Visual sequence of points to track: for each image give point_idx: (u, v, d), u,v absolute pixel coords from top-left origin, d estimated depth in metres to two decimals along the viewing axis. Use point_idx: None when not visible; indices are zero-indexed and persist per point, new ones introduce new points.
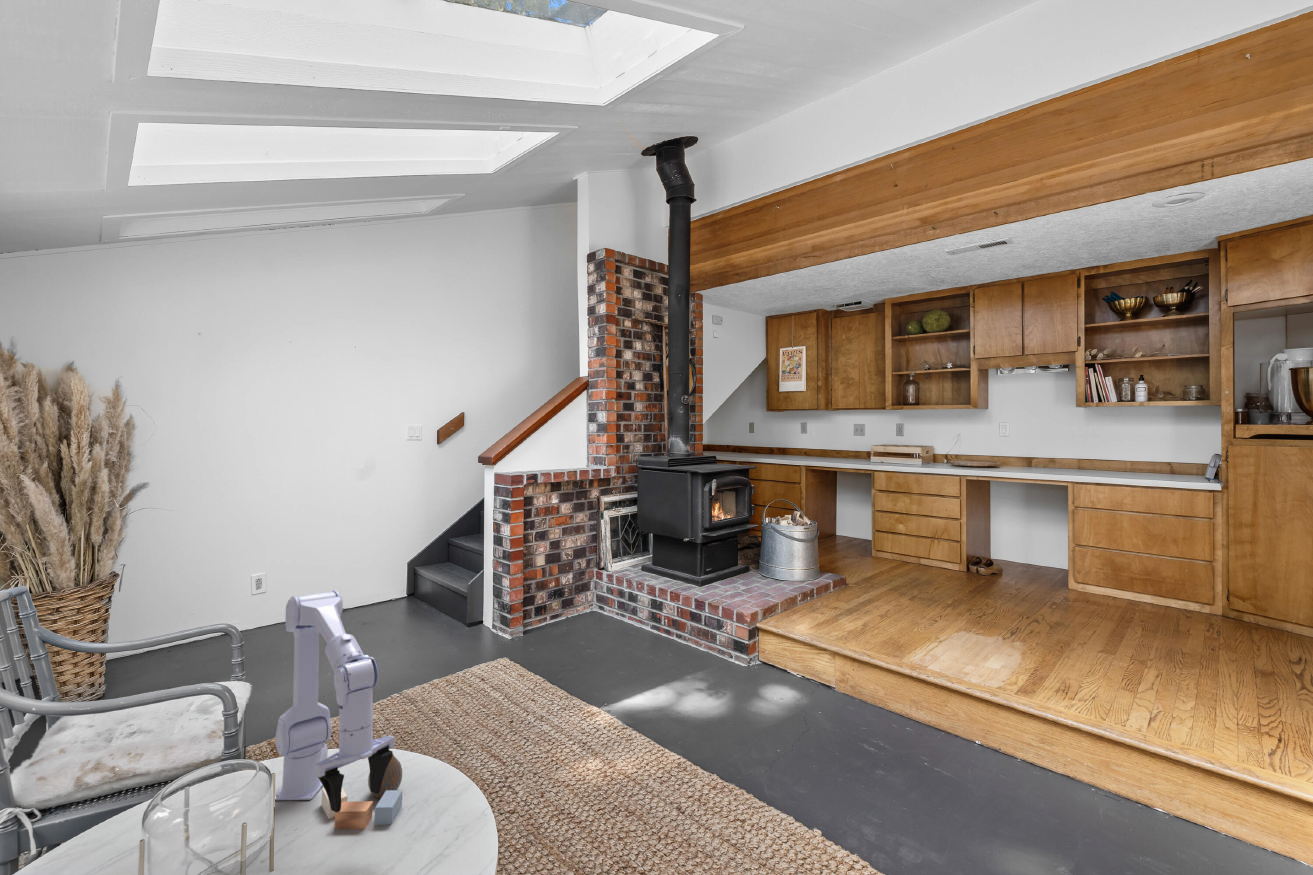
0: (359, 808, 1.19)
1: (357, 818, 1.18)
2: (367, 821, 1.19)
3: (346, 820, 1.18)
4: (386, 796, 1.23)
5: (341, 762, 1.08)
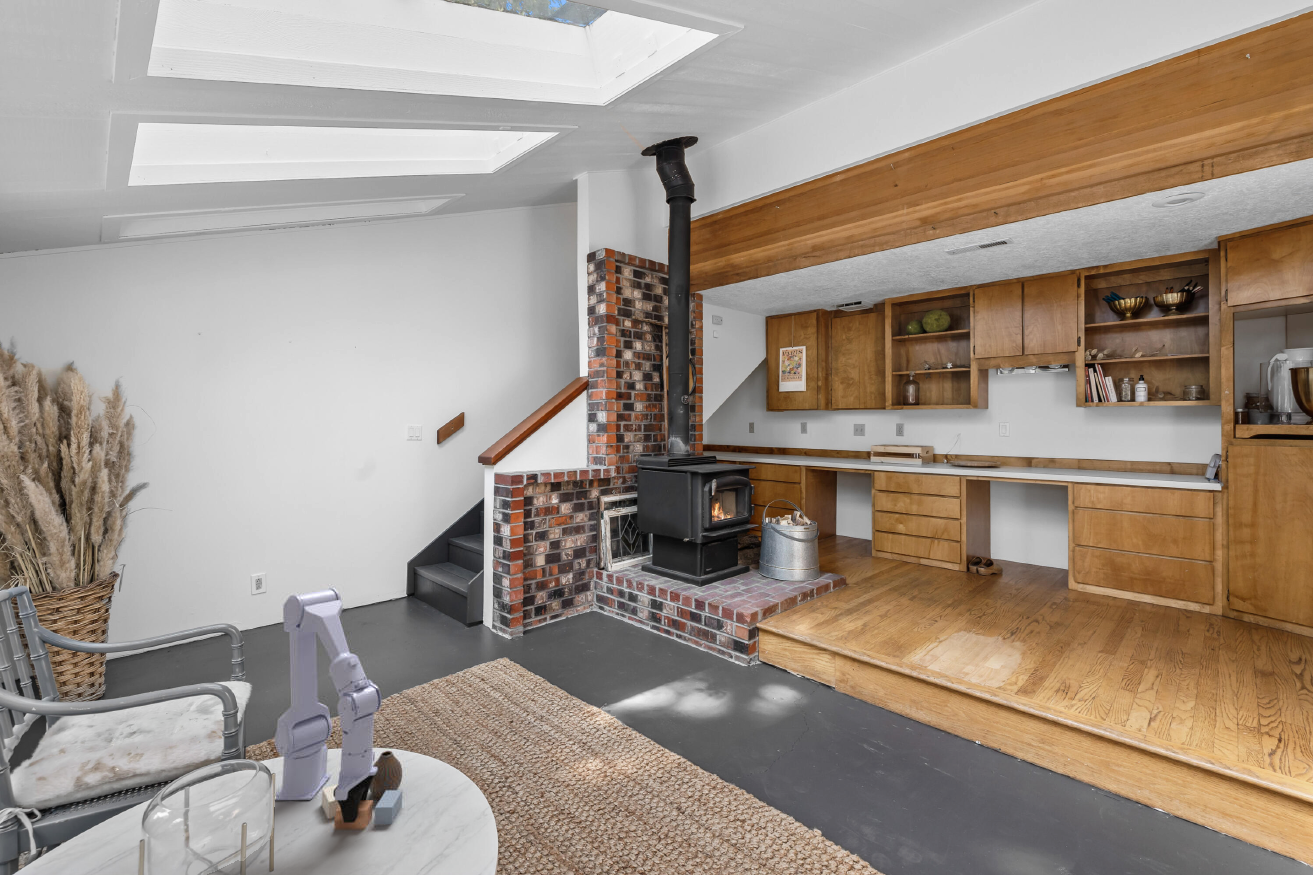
0: (359, 807, 1.19)
1: (357, 817, 1.18)
2: (367, 820, 1.19)
3: None
4: (386, 796, 1.23)
5: (357, 782, 1.16)
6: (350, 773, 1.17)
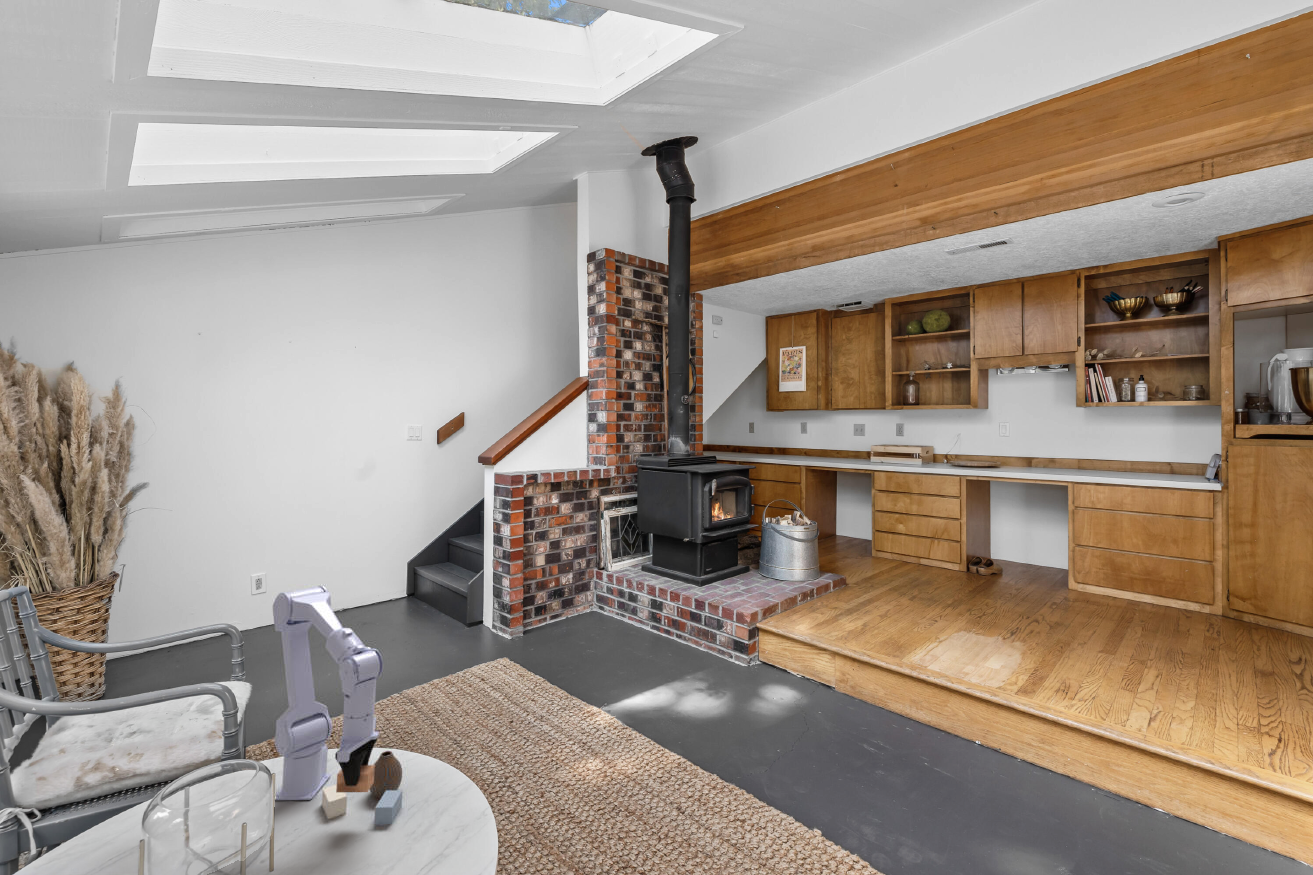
0: (361, 771, 1.19)
1: (359, 781, 1.18)
2: (369, 784, 1.19)
3: None
4: (386, 796, 1.23)
5: (359, 745, 1.16)
6: (352, 736, 1.17)
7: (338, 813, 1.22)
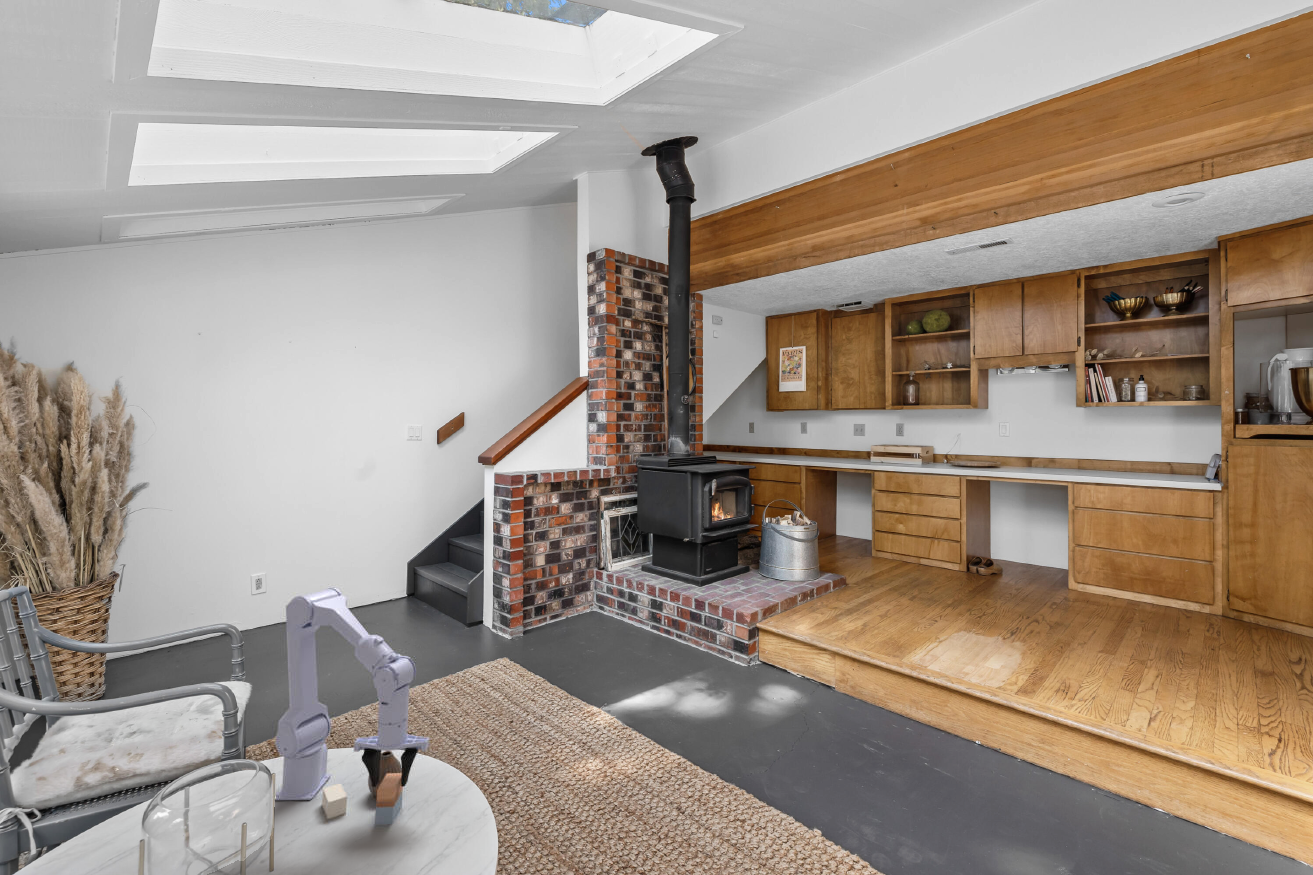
0: (396, 777, 1.24)
1: (400, 783, 1.24)
2: None
3: (397, 791, 1.22)
4: None
5: None
6: (406, 736, 1.23)
7: (338, 813, 1.22)
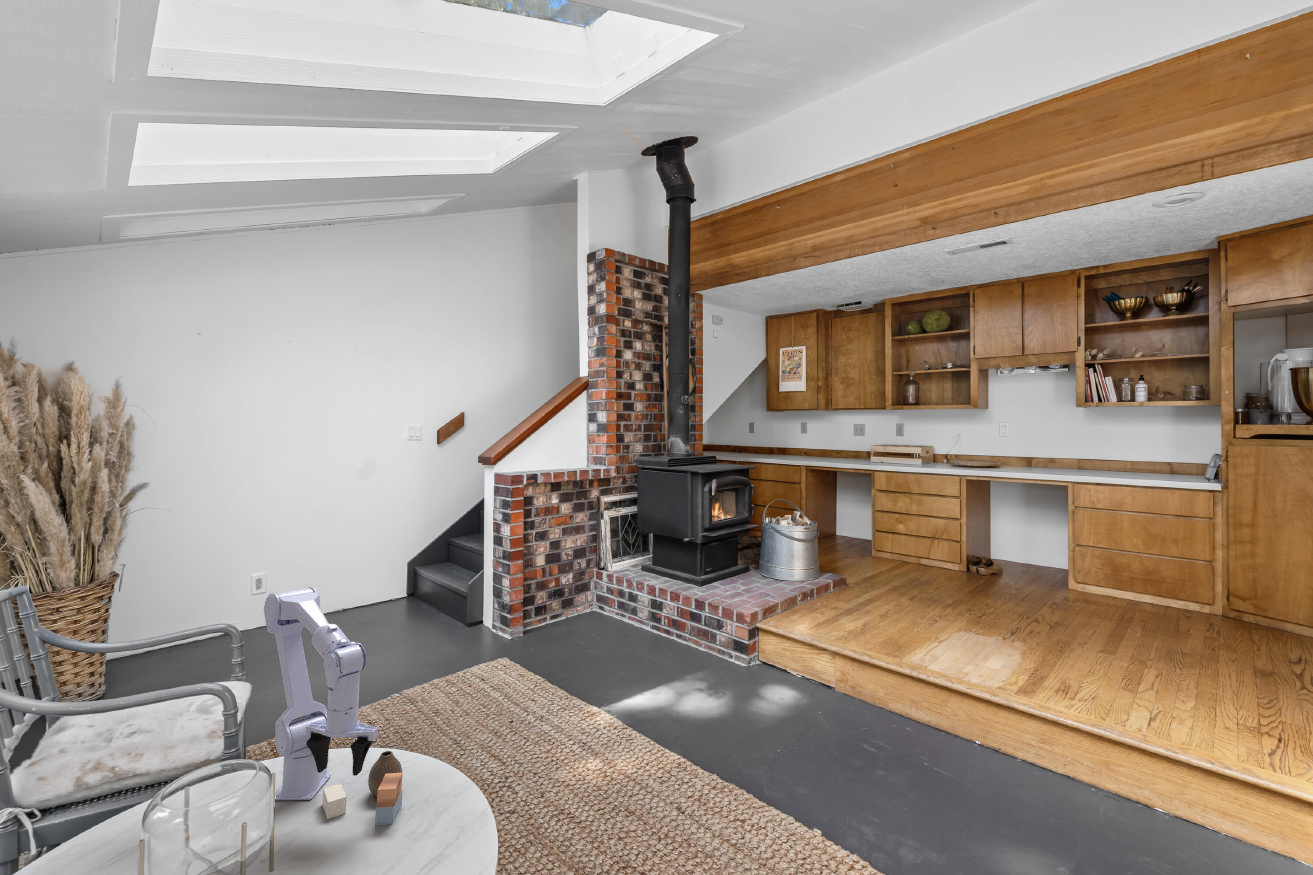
0: (395, 777, 1.24)
1: (400, 783, 1.24)
2: None
3: (397, 790, 1.22)
4: None
5: None
6: (355, 724, 1.21)
7: (338, 813, 1.22)
